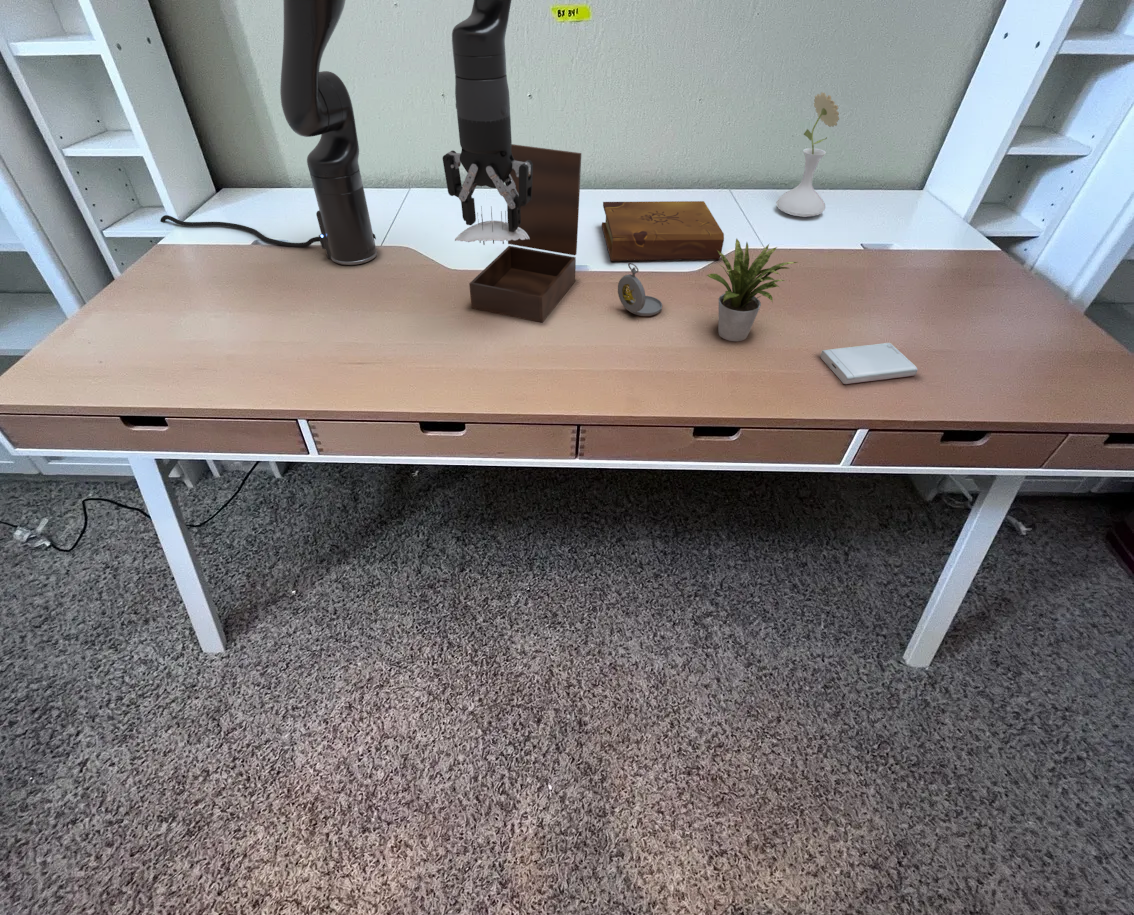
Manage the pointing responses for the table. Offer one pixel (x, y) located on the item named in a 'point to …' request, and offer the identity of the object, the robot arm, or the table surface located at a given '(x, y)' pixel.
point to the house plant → (743, 292)
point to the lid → (550, 199)
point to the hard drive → (868, 363)
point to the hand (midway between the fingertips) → (492, 226)
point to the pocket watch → (637, 296)
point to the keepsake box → (523, 283)
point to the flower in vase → (810, 167)
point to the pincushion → (491, 232)
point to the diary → (661, 231)
